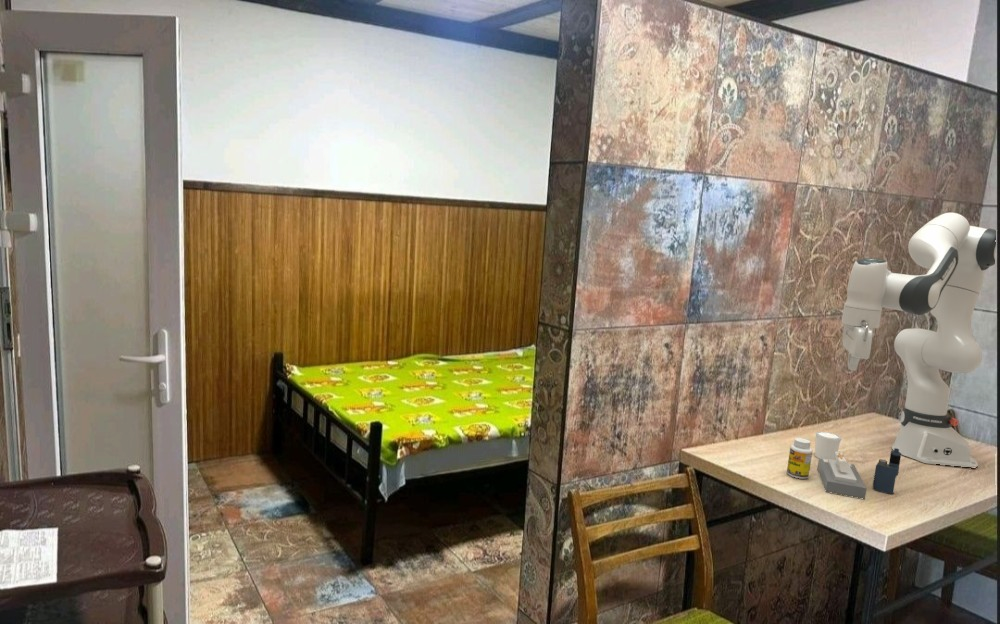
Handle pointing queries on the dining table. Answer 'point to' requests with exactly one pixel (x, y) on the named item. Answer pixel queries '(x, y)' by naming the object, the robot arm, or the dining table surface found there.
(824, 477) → the panel
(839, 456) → the double breaker paddle
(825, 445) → the white cylinder
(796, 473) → the supplement bottle
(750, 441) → the dining table surface
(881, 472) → the vaping device
